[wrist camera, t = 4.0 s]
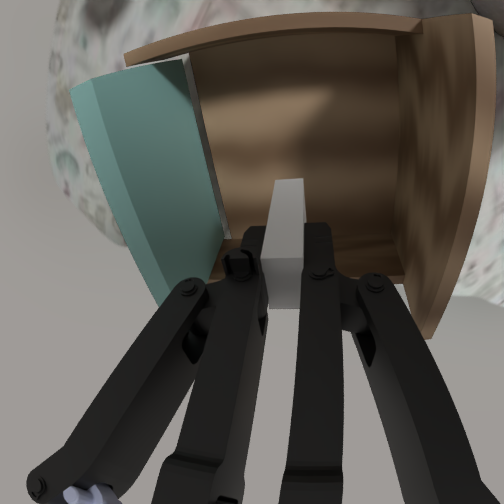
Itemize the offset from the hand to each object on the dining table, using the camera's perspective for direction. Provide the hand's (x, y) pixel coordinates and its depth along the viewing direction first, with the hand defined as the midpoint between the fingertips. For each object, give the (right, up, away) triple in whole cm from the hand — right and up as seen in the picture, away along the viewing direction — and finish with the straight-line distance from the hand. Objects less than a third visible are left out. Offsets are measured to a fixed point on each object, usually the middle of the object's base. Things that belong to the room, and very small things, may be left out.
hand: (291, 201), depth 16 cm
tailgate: (-7, +6, +9) cm, 13 cm away
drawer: (+3, +8, +9) cm, 13 cm away
